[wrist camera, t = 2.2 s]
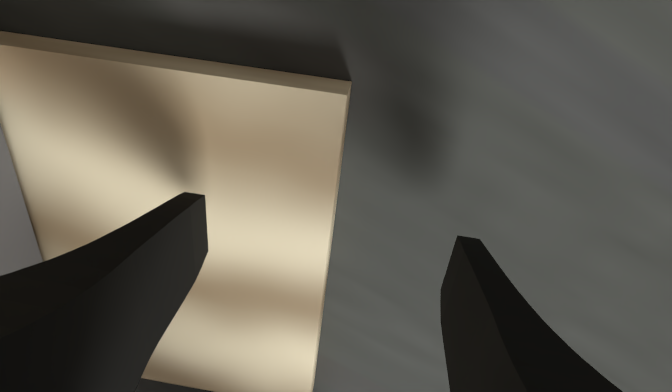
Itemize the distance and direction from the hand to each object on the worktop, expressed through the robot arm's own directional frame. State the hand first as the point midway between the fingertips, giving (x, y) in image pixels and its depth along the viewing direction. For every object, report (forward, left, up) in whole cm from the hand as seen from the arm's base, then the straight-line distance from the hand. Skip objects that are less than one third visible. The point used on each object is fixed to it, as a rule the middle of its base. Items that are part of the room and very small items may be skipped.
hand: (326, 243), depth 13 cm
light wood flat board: (-3, +11, -3) cm, 12 cm away
